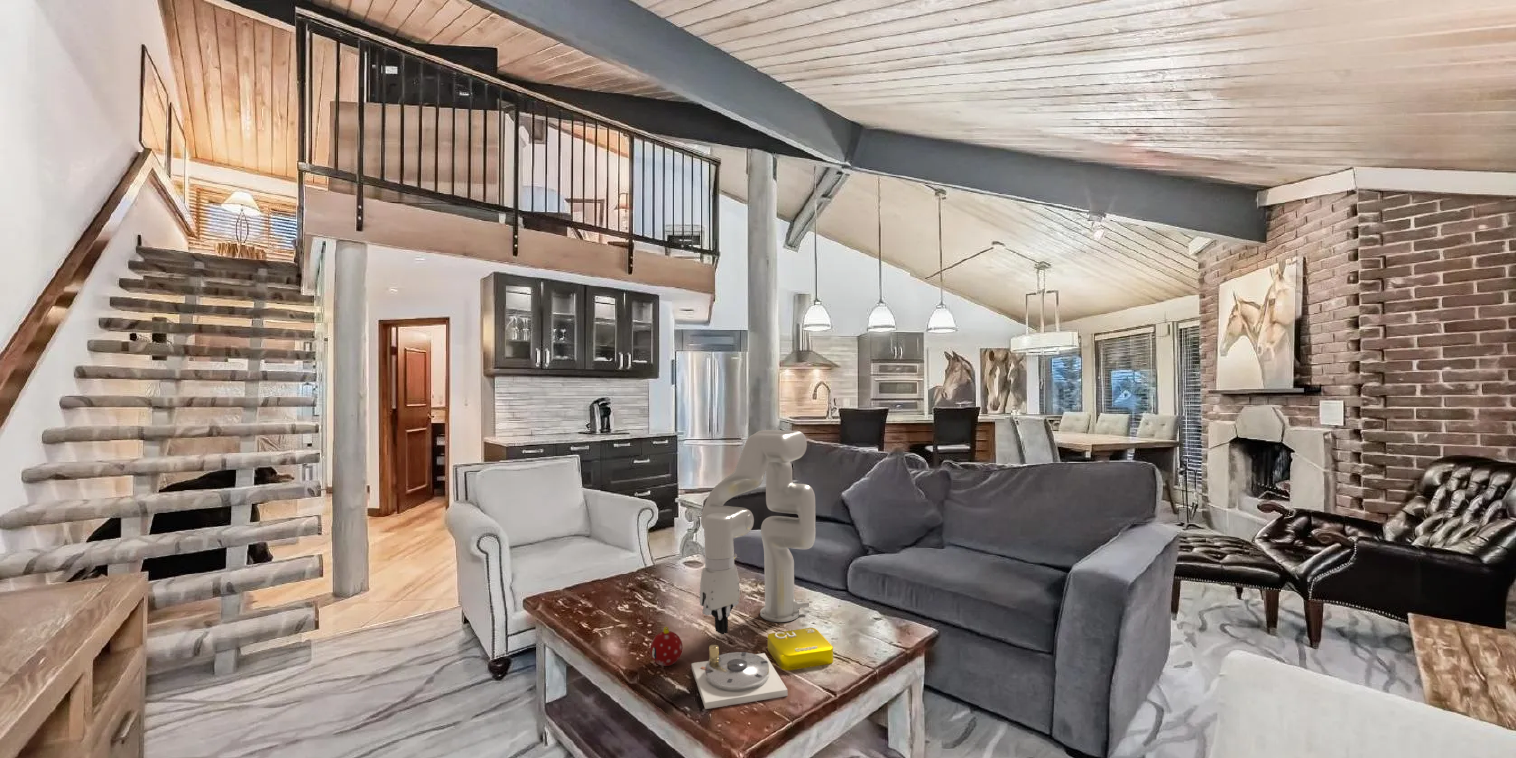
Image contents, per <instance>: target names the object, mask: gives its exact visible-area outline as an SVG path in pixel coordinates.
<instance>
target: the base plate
mask: <svg viewBox="0 0 1516 758" xmlns="http://www.w3.org/2000/svg"><path fill="white" fill-rule="evenodd" d="M756 655H758V656H761V657H762V658H764V659H765V660H766V661H767V662H768V664H769V678H768V679H767V681H766V682H765V683H764V684H762V685H761V686H759V687H756V688H754V689H750V690H745V691H726V690H721V689H718V688H715V687H713V686H711V685H710V684H709V683H708V682H707V681H706V678H705V667H706V664H707V663H708V662H709V660H705V661H704V660H703V661H697V662H692V663H691V664H690V665H691V672H692V675H693V678H694V680H695V682H696V686H697V689H698V692H699V694H700V697H701V700H702V704H703V706H704V709H705V710H708V709H709V710H710V709H715V708H721V707H726V706H734V705H740V704H746V703H752V702H757V701H758V702H759V701H763V700H764V701H765V700H772V699H776V698H783V697H788V696H789V695H788V694H789V691H788V688H787V686H786V685H785V683H784V681H783V680H782V678H781V677H780V675H779V673H778V672H777V670H776V669H775V667H774V665H773V664H772V663H771V661H770V659H769V658H768V656H767V655H766V653H765V652H762V653H756Z"/></svg>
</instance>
